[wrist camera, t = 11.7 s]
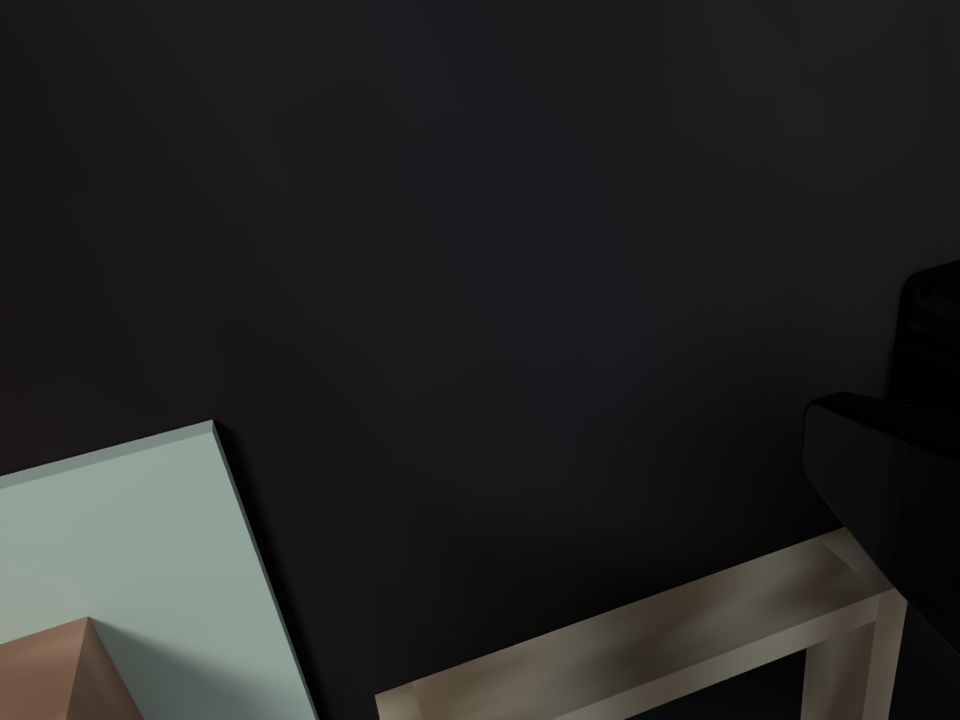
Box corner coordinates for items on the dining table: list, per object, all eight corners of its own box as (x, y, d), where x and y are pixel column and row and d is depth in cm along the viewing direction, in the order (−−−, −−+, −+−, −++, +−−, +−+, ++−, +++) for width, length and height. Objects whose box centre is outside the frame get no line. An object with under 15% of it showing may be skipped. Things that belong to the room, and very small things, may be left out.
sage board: (212, 419, 18) (212, 431, 18) (334, 761, 24) (336, 777, 24) (-431, 591, 16) (-453, 611, 15) (-116, 929, 21) (-124, 951, 21)
